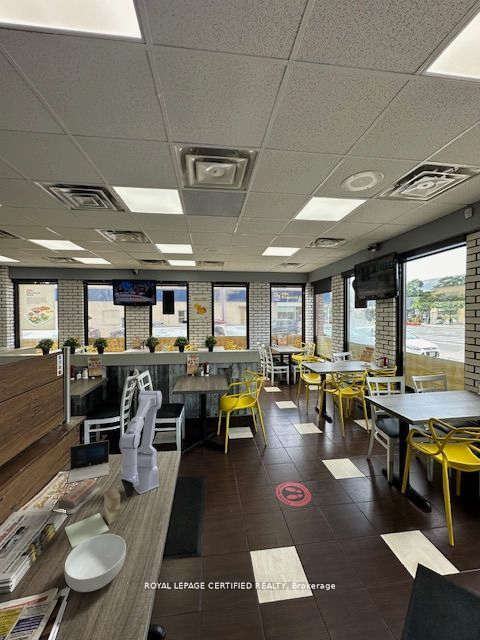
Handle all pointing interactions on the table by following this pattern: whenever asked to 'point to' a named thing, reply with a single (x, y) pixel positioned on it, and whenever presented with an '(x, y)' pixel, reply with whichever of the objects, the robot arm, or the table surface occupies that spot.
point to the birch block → (112, 505)
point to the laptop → (89, 461)
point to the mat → (86, 529)
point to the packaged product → (78, 496)
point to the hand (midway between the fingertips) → (129, 496)
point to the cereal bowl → (95, 562)
